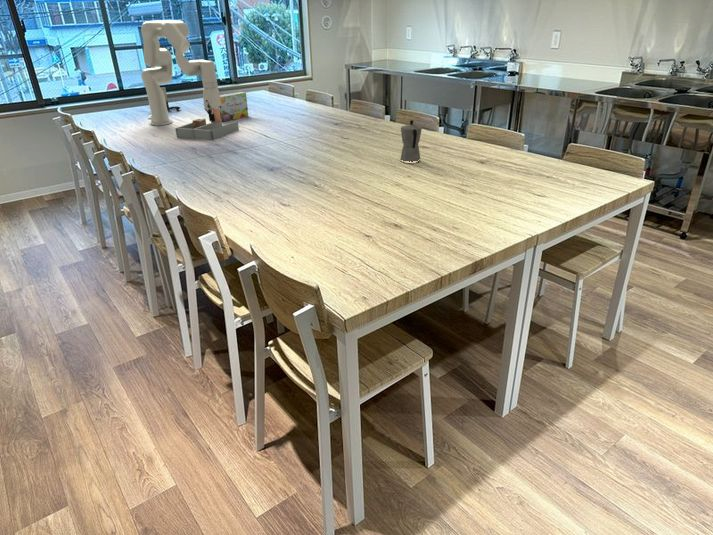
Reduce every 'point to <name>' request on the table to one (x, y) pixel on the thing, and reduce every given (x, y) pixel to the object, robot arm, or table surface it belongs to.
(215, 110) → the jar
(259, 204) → the table surface
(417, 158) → the coffeepot
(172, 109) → the milk frother
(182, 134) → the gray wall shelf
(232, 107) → the snack box
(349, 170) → the table surface
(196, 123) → the walnut block
